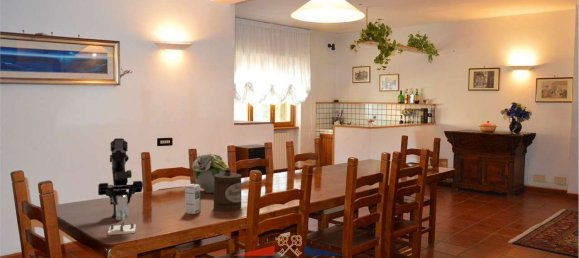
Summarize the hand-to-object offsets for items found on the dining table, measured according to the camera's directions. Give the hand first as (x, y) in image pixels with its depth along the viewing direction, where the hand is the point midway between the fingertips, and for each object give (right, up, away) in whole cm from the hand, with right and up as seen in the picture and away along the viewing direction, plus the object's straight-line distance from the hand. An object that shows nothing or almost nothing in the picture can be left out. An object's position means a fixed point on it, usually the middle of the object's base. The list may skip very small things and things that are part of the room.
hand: (122, 203), depth 208 cm
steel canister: (-1, -7, +2) cm, 7 cm away
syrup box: (+23, -11, +37) cm, 45 cm away
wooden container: (+40, -10, +48) cm, 63 cm away
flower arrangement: (+24, -7, +92) cm, 96 cm away
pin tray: (-1, -12, +2) cm, 13 cm away
